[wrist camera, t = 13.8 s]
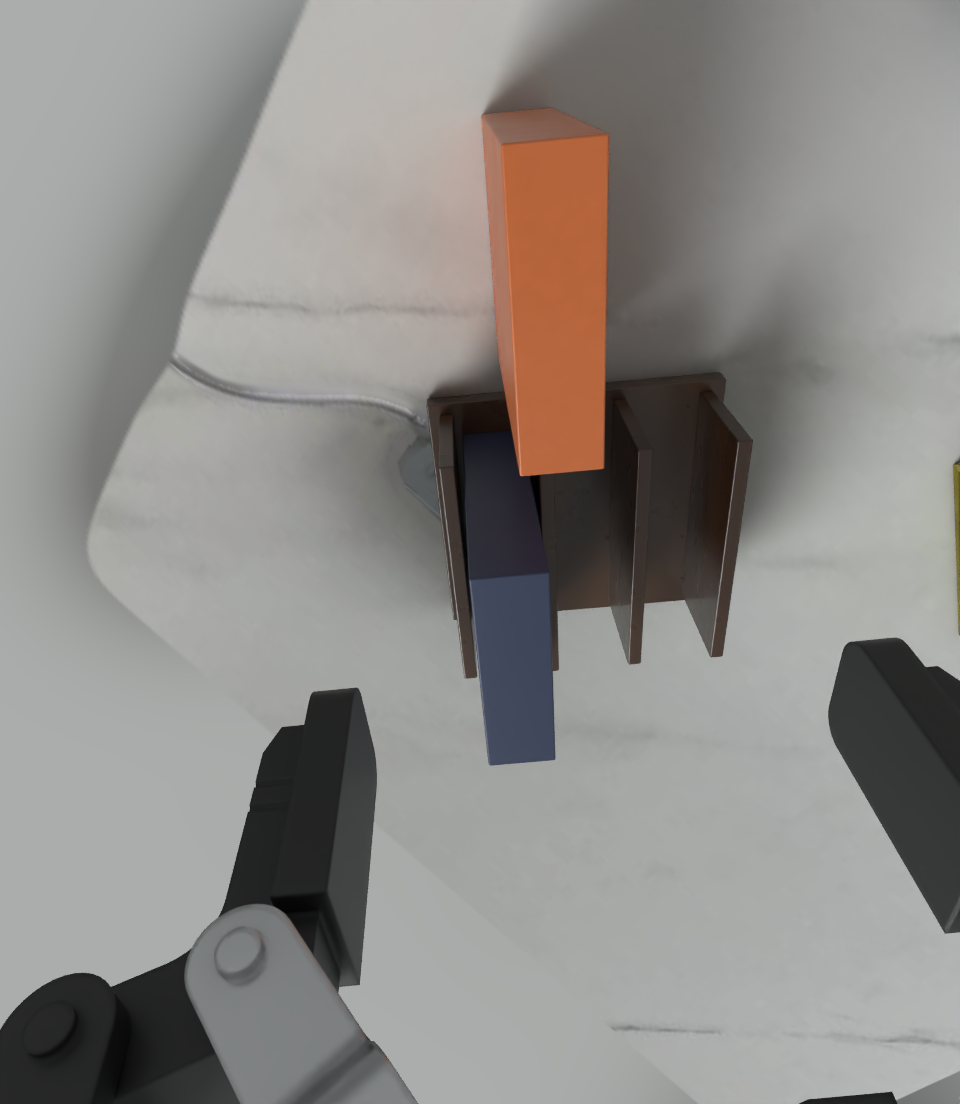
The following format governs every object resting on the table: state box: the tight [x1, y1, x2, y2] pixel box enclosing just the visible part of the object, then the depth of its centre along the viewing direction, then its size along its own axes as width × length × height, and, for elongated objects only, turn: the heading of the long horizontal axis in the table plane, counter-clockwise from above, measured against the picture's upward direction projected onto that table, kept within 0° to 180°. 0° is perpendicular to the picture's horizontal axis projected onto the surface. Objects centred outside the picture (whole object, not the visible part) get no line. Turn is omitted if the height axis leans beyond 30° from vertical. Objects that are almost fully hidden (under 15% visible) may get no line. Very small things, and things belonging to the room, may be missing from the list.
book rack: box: [427, 373, 753, 678], centre depth 34 cm, size 13×12×6 cm
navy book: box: [462, 430, 555, 765], centre depth 31 cm, size 3×9×11 cm, turn 4°
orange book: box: [482, 108, 609, 476], centre depth 25 cm, size 3×9×11 cm, turn 5°
